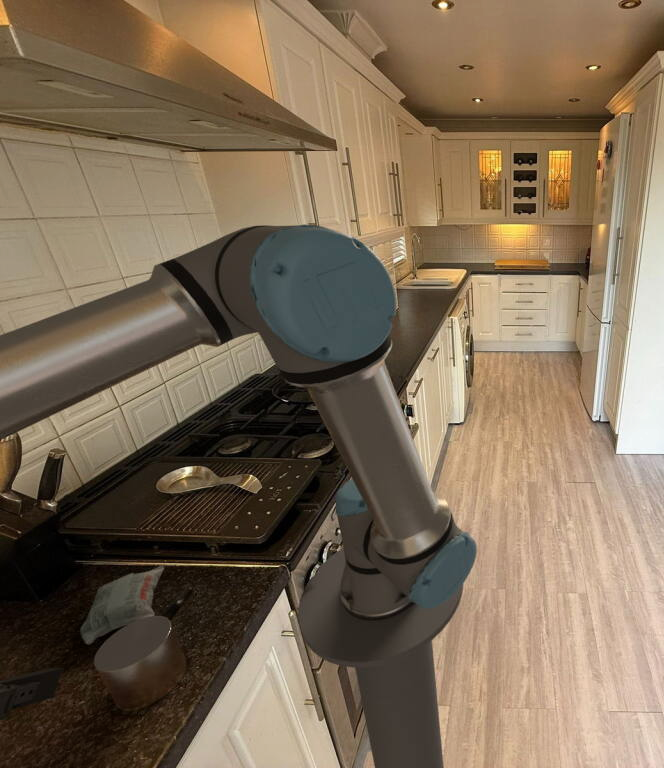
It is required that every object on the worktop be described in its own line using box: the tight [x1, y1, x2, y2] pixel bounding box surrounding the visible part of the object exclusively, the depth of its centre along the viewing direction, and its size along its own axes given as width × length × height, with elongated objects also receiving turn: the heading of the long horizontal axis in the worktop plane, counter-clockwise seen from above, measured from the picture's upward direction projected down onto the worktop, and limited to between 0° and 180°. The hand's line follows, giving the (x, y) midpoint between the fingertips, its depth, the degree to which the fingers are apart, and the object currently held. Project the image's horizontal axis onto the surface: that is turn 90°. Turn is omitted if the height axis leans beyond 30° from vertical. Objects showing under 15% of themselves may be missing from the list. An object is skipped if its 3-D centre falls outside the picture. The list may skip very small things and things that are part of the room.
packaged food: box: [80, 565, 165, 645], centre depth 68 cm, size 9×12×5 cm
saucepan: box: [93, 586, 194, 712], centre depth 60 cm, size 8×15×8 cm, turn 3°
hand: (51, 682), depth 45 cm, fingers closed
